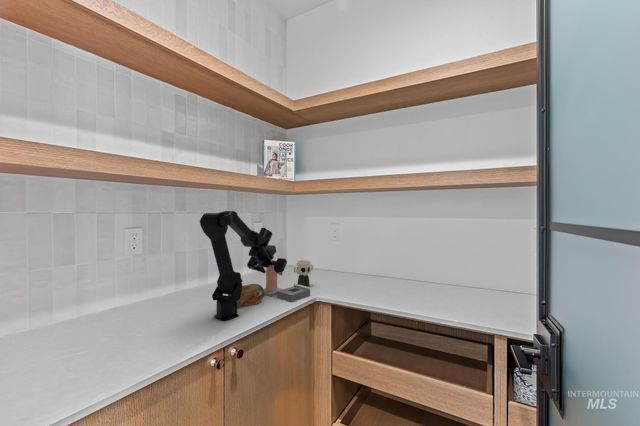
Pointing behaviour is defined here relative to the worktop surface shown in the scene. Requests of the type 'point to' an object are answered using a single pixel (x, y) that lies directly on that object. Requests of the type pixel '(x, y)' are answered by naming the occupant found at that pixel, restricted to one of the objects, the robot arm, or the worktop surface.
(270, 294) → the mat
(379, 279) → the worktop surface
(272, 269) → the tan rectangular block
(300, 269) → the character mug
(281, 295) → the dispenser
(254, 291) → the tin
